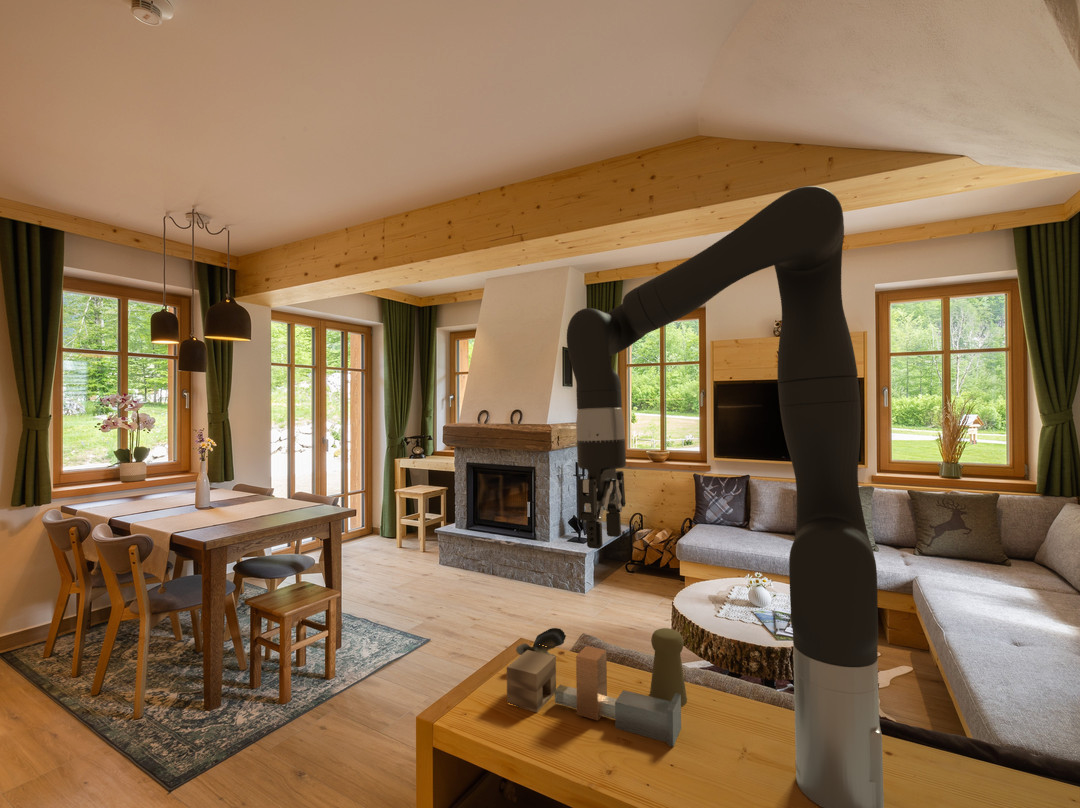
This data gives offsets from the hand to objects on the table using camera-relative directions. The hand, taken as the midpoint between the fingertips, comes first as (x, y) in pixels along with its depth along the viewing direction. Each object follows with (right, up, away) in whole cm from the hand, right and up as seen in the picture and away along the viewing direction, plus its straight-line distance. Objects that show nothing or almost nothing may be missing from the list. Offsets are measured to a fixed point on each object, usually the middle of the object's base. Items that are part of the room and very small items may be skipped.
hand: (605, 541), depth 82 cm
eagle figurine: (-10, -28, +17) cm, 34 cm away
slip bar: (+1, -27, -1) cm, 27 cm away
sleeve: (+6, -27, -3) cm, 28 cm away
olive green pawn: (+11, -28, +5) cm, 30 cm away
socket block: (-11, -28, +6) cm, 30 cm away
